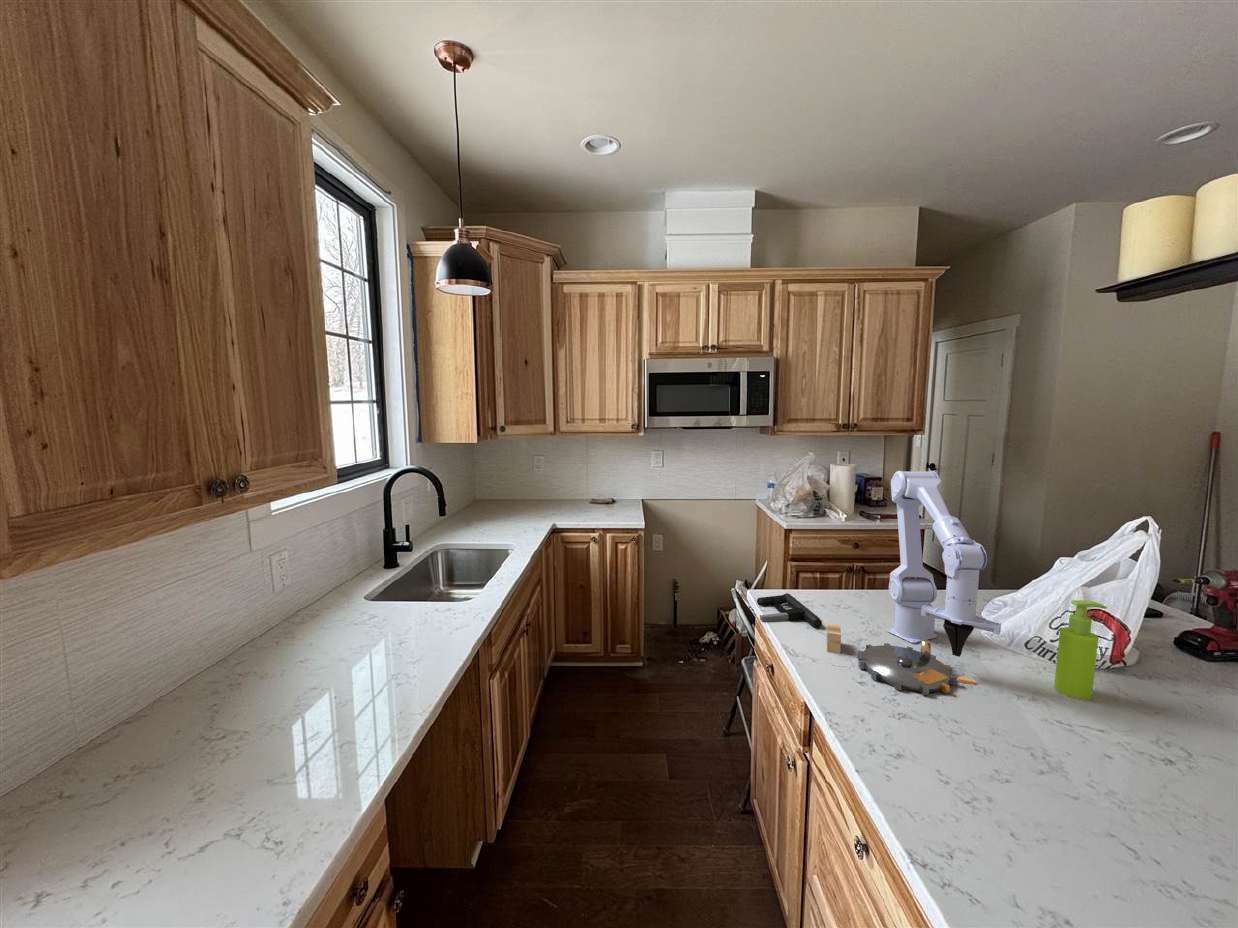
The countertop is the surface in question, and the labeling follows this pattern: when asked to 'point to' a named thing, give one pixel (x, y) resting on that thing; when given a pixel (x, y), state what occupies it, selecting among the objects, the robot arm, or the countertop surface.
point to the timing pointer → (966, 680)
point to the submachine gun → (788, 610)
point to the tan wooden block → (833, 638)
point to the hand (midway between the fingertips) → (956, 654)
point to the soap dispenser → (1077, 654)
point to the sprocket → (907, 667)
